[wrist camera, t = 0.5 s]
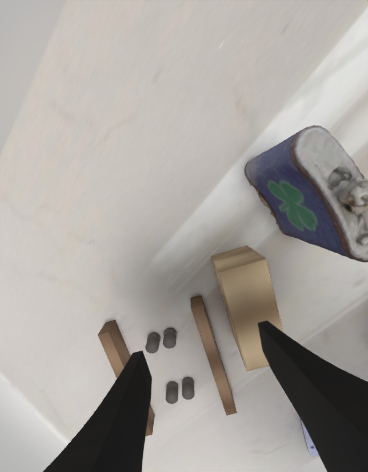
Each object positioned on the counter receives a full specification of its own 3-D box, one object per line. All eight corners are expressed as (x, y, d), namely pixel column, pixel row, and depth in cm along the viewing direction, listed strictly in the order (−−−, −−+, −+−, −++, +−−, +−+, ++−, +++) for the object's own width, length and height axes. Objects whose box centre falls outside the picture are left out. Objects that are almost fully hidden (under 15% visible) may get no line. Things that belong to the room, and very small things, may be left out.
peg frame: (232, 395, 24) (236, 412, 22) (145, 418, 25) (142, 436, 23) (200, 295, 22) (202, 305, 20) (105, 323, 22) (97, 334, 20)
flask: (238, 168, 19) (306, 129, 9) (263, 149, 19) (365, 86, 8) (285, 241, 21) (393, 284, 10) (309, 225, 20) (446, 252, 10)
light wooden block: (266, 325, 23) (289, 360, 18) (233, 334, 23) (246, 371, 18) (246, 245, 21) (266, 259, 16) (210, 255, 21) (219, 272, 16)
